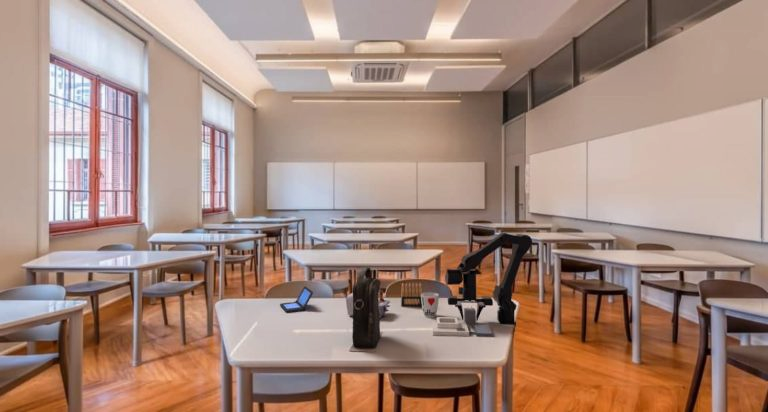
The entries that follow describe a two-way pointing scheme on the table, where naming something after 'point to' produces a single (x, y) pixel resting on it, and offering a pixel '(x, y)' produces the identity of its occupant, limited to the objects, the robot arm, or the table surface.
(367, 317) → the shoulder bag
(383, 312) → the cell model
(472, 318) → the charger block
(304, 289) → the handheld game console
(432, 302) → the cup
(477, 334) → the phone
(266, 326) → the table surface
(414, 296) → the ammunition clip
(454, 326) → the outlet plate
